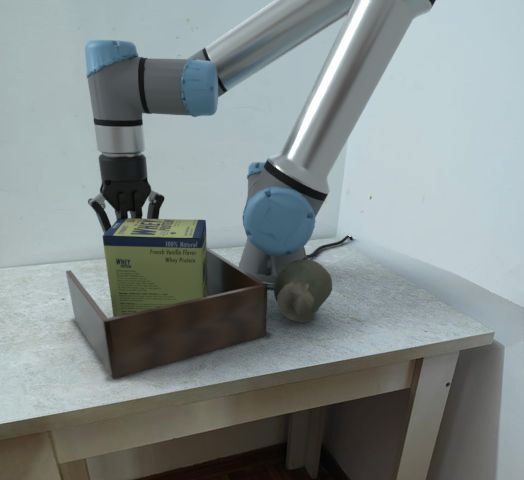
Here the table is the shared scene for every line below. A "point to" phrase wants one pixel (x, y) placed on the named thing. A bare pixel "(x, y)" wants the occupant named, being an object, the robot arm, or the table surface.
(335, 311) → the table surface
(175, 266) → the protein box
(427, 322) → the table surface
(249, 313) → the compartment
